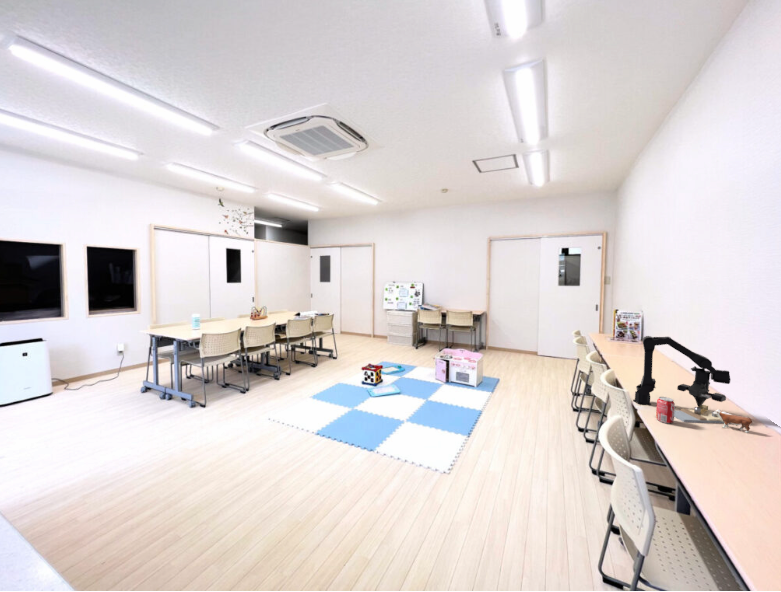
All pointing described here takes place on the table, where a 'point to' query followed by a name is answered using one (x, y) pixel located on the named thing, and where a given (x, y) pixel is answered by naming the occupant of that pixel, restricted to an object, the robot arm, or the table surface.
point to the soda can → (665, 410)
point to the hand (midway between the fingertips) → (699, 407)
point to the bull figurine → (733, 420)
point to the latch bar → (700, 409)
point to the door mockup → (697, 416)
